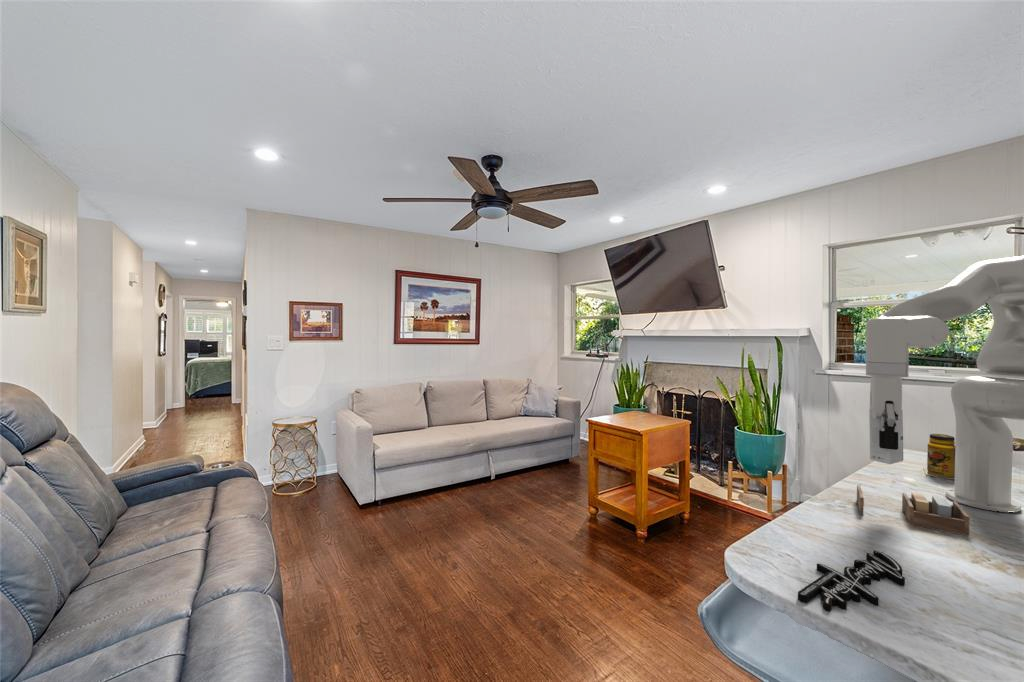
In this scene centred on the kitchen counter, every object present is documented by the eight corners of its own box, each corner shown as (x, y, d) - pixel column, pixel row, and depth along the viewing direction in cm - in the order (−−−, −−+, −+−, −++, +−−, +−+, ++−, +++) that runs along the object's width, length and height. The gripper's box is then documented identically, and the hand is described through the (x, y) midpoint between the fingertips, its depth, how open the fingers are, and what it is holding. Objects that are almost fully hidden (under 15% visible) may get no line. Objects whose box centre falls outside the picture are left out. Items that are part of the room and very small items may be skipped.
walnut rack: (856, 500, 107) (857, 485, 107) (956, 518, 96) (956, 501, 96) (860, 514, 98) (860, 497, 98) (968, 536, 88) (969, 517, 88)
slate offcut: (931, 517, 97) (932, 496, 97) (943, 519, 96) (944, 498, 96) (937, 527, 92) (938, 504, 92) (950, 529, 91) (951, 506, 91)
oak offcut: (911, 513, 99) (911, 492, 99) (922, 515, 98) (923, 494, 98) (915, 522, 94) (916, 500, 94) (928, 525, 93) (928, 503, 93)
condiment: (926, 475, 126) (927, 435, 126) (923, 468, 132) (924, 430, 132) (961, 481, 121) (962, 439, 121) (956, 473, 128) (957, 434, 127)
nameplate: (852, 541, 83) (920, 565, 75) (852, 549, 83) (920, 574, 75) (781, 585, 69) (856, 621, 60) (781, 594, 69) (855, 631, 60)
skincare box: (891, 465, 96) (892, 412, 96) (868, 459, 100) (868, 409, 100) (904, 460, 99) (904, 409, 99) (881, 456, 103) (881, 406, 103)
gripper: (862, 366, 108) (862, 435, 109) (869, 372, 94) (869, 451, 95) (902, 367, 104) (901, 439, 105) (915, 374, 90) (915, 456, 90)
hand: (886, 444), depth 100 cm, fingers closed on skincare box, 7 cm apart
